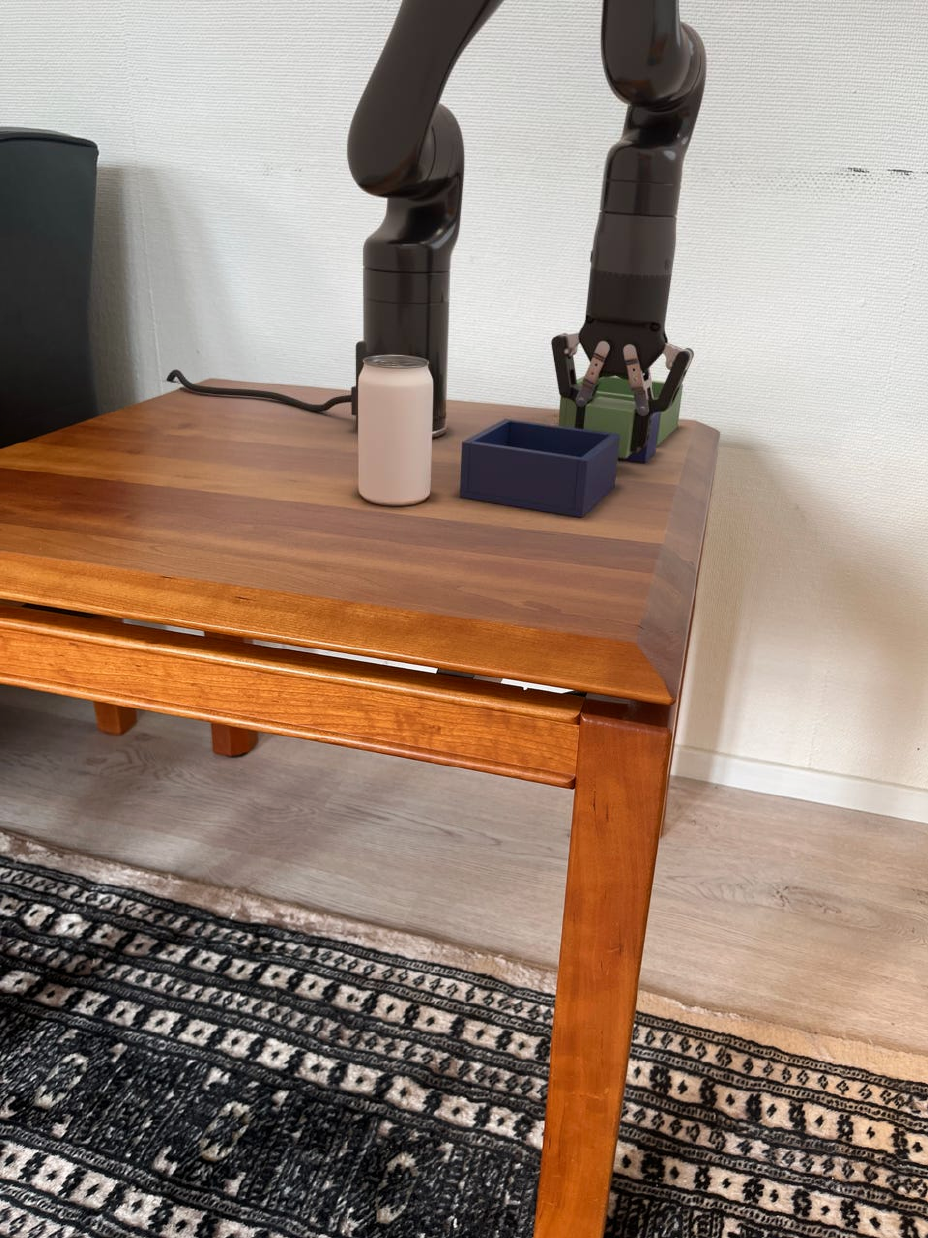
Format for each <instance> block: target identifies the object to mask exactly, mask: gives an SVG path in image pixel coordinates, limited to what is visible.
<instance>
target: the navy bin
mask: <svg viewBox="0 0 928 1238" xmlns="http://www.w3.org/2000/svg"><path fill="white" fill-rule="evenodd" d="M619 442H620V434H614V433H607V432H600V431H592V430H585V429H578V428H570V427H563V426H558V425H555V424H548V423H542V422H541V423H540V422H533V421H526V420H518V419H511V418H504V419H501V420H500V421H497V422H496V423H495V424H493V425H491V426H488V427H487V428H485V429H484V430H481V431H479V432H478V433H475V434H474V435H472V436H471V437H468V438H467V439H465V440H463V441H462V442H461V453H460V454H461V455H460V457H461V458H460V483H459V498H463V499H467V500H468V499H469V500H476V501H481V502H487V503H493V504H499V505H505V506H512V507H516V508H521V509H522V508H523V509H528V510H534V511H540V512H546V513H552V514H557V515H563V516H569V517H575V518H584V516H586V515H587V514H588V513H589V512H590V511H591V510H592V509H593V508H594V507H595V506H596V505H597V504H598V503H600V501H602V500H603V498H605V497H606V495H608V494H609V493H610V492H611V491H612V490H613V489H614V488H615V486H616V478H617V469H618V460H619V459H618V451H619Z"/></svg>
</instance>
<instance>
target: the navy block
mask: <svg viewBox="0 0 928 1238" xmlns="http://www.w3.org/2000/svg"><path fill="white" fill-rule="evenodd" d="M659 419H660V412H656V413H653V415H652V421H651V429H650V436H649V441H648V443H647V444H646V445H645V446H644V447H643V448H641V450H640V451H639V452H638V453H635V452H633V453H631V454H630V455H629V456H628V457H627V458H620V457H618V460H621V461H627V462H635V463H641V464H645V463H647V462H648V461H649V460H650V459H651V458H652V457H653V456H654V455H655V454H656V452H657V451H656V450H657V447H656V443H657V435H658V427H659Z"/></svg>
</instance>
